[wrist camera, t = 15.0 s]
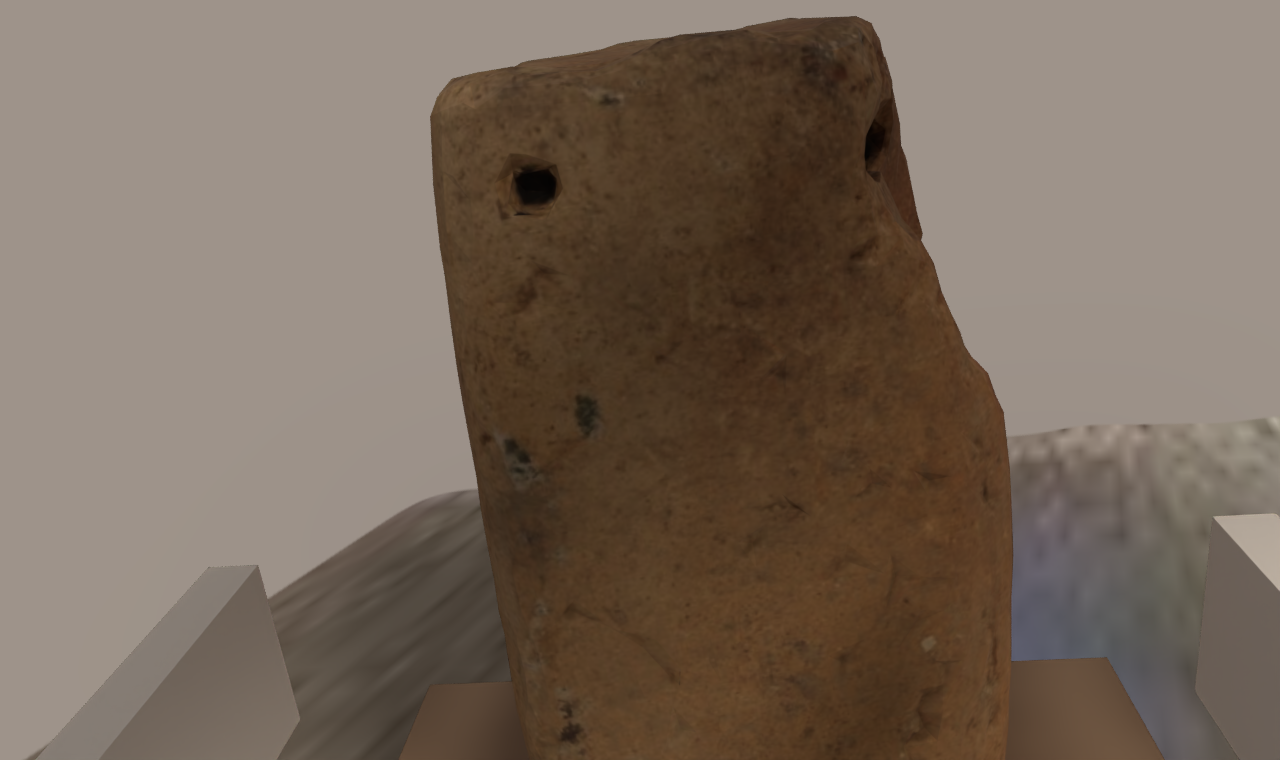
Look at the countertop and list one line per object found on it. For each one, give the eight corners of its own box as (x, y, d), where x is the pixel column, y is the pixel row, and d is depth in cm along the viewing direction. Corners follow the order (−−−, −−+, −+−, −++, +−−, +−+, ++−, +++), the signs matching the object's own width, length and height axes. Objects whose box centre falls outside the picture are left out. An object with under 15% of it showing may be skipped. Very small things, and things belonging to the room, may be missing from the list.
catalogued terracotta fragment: (546, 994, 23) (366, 73, 16) (571, 760, 30) (454, 49, 23) (1035, 962, 22) (1072, -7, 15) (943, 731, 29) (941, -7, 22)
